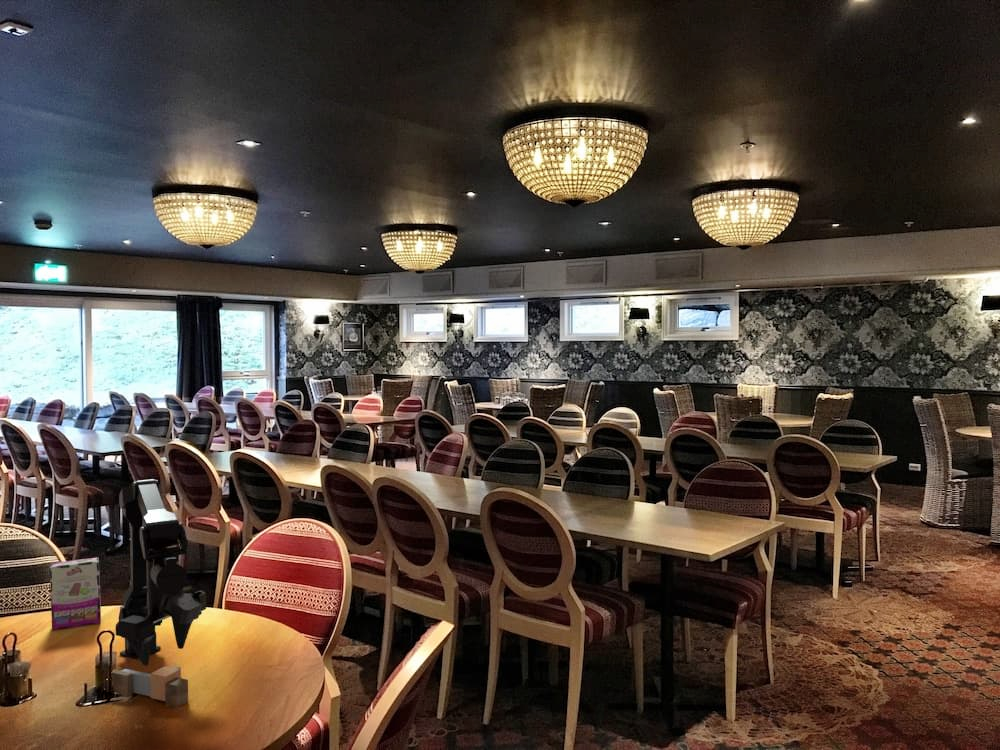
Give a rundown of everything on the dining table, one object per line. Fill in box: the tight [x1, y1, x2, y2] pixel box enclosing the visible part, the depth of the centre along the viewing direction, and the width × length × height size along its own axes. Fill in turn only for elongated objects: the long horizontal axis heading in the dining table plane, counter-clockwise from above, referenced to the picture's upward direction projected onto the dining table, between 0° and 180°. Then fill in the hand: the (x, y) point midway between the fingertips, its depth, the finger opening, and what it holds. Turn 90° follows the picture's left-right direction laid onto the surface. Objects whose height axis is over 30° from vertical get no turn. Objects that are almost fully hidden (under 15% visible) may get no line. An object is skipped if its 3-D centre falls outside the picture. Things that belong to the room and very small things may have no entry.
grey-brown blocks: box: [111, 669, 189, 709], centre depth 159 cm, size 20×3×4 cm, turn 69°
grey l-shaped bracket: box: [121, 665, 181, 697], centre depth 162 cm, size 10×7×4 cm
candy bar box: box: [49, 556, 102, 631], centre depth 200 cm, size 11×5×16 cm, turn 117°
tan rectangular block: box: [149, 665, 182, 702], centre depth 157 cm, size 4×4×5 cm
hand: (163, 656), depth 157 cm, fingers open, 9 cm apart
